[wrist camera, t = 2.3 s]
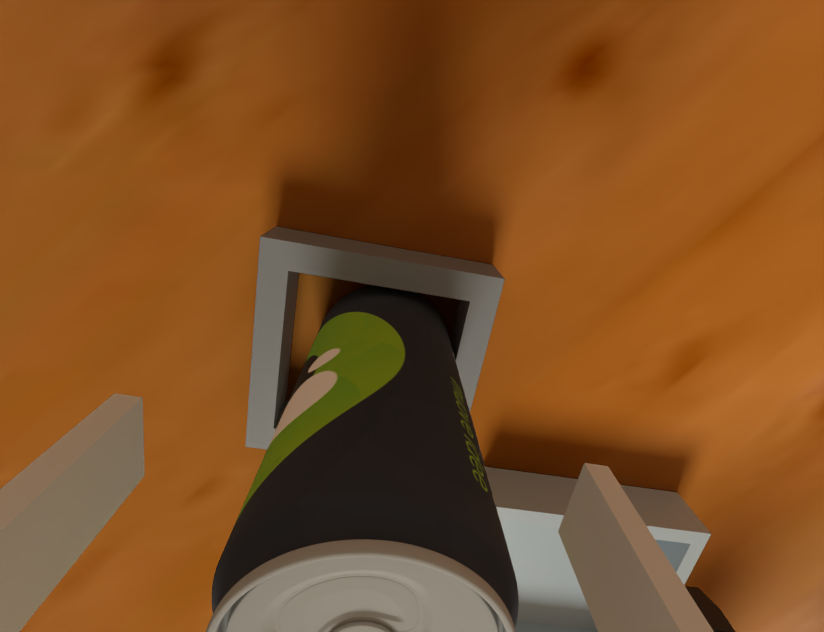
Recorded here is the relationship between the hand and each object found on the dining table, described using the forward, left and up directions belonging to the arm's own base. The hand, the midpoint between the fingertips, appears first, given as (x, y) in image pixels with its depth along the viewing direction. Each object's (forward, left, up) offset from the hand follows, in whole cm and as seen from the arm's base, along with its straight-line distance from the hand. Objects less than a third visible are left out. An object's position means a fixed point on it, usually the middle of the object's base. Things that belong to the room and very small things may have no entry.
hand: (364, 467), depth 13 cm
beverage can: (0, 0, -10) cm, 10 cm away
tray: (+13, -12, -9) cm, 20 cm away
